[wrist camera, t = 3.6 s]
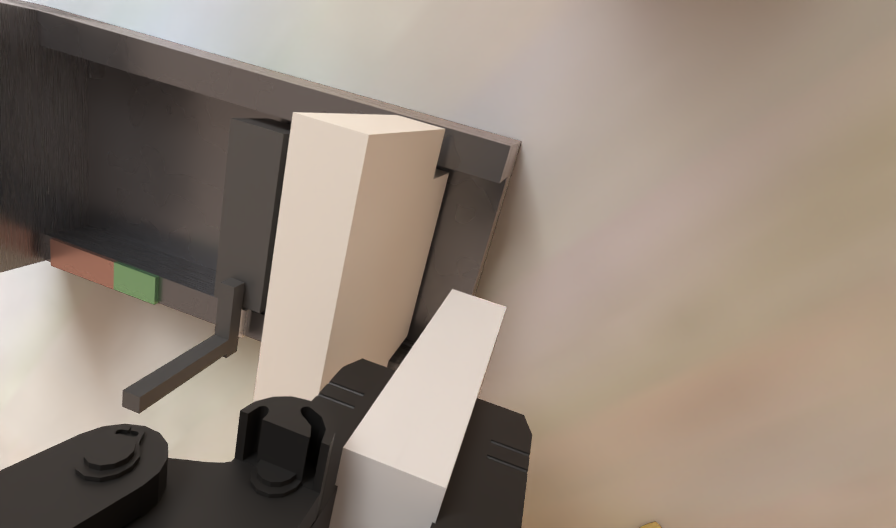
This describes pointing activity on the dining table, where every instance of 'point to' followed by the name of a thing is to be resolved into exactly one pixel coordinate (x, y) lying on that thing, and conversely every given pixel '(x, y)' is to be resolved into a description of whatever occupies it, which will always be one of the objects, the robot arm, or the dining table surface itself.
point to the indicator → (233, 251)
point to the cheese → (652, 525)
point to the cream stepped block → (347, 246)
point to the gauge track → (181, 162)
